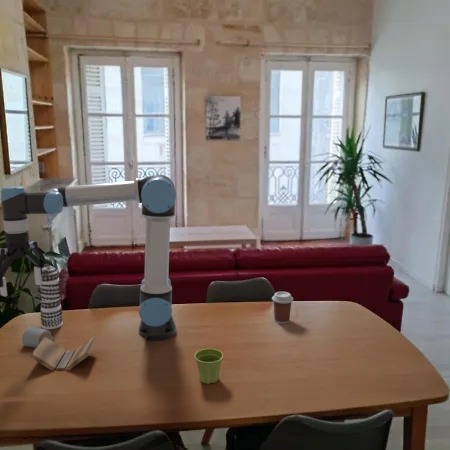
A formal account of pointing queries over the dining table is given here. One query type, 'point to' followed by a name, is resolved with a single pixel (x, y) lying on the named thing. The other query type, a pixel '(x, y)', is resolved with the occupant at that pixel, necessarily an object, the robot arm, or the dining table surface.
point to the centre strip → (65, 360)
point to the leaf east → (48, 353)
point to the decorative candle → (50, 299)
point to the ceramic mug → (35, 336)
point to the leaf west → (81, 352)
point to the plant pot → (209, 364)
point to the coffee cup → (282, 306)
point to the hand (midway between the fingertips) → (21, 289)
